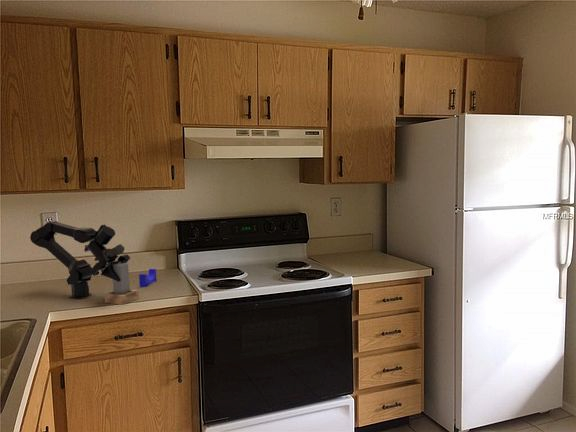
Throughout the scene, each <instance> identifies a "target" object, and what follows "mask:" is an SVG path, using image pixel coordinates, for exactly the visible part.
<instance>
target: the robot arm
mask: <svg viewBox="0 0 576 432" xmlns="http://www.w3.org/2000/svg"><path fill="white" fill-rule="evenodd" d="M56 234H59V235H63V236H67V237H70V238H73V240H74V241H76V242H78V243H79V244H84V243H85V245H84V252H85V253H86V252H91V254H92V255H93V256H94V261H95V264H94V265H93V267H92V266H91V265H92V264H90V263H88V261H86V260H85V259H80V260H78V259H76V258H75V257H74V256H73V255H72V254H71V253H70V252H68V250H66V248H64V247H63V246H62V245H60V244H59V243H58V242H57V241H56V238H55V235H56ZM115 235H116V231H115V230H114V229H113V228H112V227H110V226H107V225H106V224H101V225H100V226H99V228H98V230H95V229H94V228H93V227H76V226H72V225H70V224H66V223H61V222H59V221H57V220H54V221H48V222H46V223H45V224H44V225H42V226H41V227H38V228H37V229H36V230H33V231H32V232H31V233H30V237H29V238H30V241H31V243H32V244H34V245H35V246H37V247H39V248H43V249H45V250H47V251H48V252H49V253H50V254H51V255H53V257H55V259H57V260H58V261H59V262H60V263H62V265H64V267H66V268H67V269H68V274H69V276H68V277H67V279H66V282H67V285H70V286H71V295H69V297H68V298H69V299H70V298H71V299H83V298H86V297H89V296H91V295H92V293H91V292H90V286H89V281H92V276H93V277H95V276H98V275H99V274H100V276H103V277H106V278H109V279H112V280H113V279H114V280H116V281H118V282H120V278H119V276H118V275H117V274H116V272H115V271H114V270H113V265H114V264H117V263H128V262H129V260H131V257H130V256H129V254H124V252H125V247H124V246H123V244H122V243H121V244H118V245H116V246H115V247H113V248H107V247H106V246H107V245H109V243H110V242H111V241H112V239H113V238H114V237H115ZM86 243H87V244H86ZM105 245H106V246H105ZM121 254H122V255H121ZM100 272H101V273H100Z"/></svg>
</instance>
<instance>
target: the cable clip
mask: <svg viewBox="0 0 576 432" xmlns="http://www.w3.org/2000/svg"><path fill="white" fill-rule="evenodd" d="M157 280H158V279H157V268H149V269H148V274H147V273H140V274H138V281H139V283H138V284H139V288H147V287H149V286H150V285H152V284H153V282H154V283H155V282H156V281H157ZM148 285H149V286H148Z"/></svg>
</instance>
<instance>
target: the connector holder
mask: <svg viewBox="0 0 576 432" xmlns="http://www.w3.org/2000/svg"><path fill="white" fill-rule="evenodd" d="M138 299H140V294H139V290H138V289H132V288H130V292H129V293H127V294H124V295H119V294H114V290H112V291H110V292H108V293H105V294H104V303H105V304H115V305H116V304H117V305H127V304H130V303H131V302H134V301H136V300H138Z"/></svg>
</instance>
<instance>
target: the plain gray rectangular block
mask: <svg viewBox="0 0 576 432" xmlns="http://www.w3.org/2000/svg"><path fill="white" fill-rule="evenodd" d="M113 270H114V271H115V272H116V274H117V275H118V276H119V278H120V282H118V281H116V280H114V279H112V286H113V287H112V288H113V289H112V291H114V294H119V295H124V294H127V293H129V292H130V289H131V288H130V274H129V273H130V271H129V270H130V269H129V263H128V262H127V263H117V264H114V265H113Z"/></svg>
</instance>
